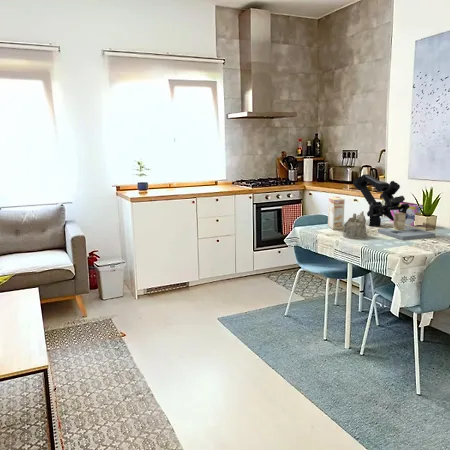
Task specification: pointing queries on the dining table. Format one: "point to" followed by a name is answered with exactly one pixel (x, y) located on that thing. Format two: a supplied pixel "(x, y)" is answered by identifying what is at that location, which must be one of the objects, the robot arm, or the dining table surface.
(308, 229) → the dining table surface
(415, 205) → the gum box
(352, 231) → the grey rough lump
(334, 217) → the coffeecake box
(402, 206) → the robot arm
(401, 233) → the board
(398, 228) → the beech post
